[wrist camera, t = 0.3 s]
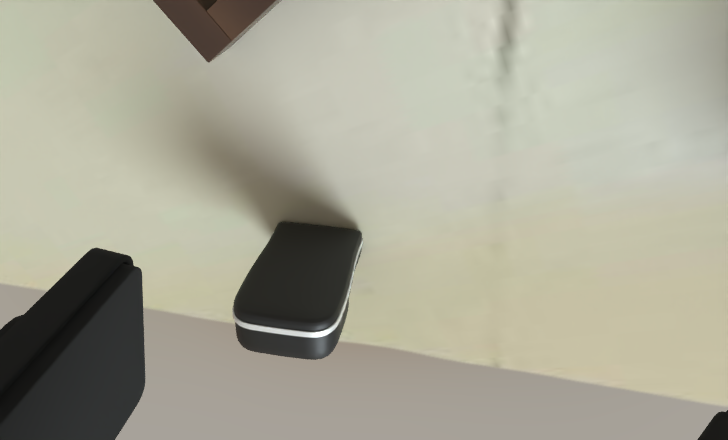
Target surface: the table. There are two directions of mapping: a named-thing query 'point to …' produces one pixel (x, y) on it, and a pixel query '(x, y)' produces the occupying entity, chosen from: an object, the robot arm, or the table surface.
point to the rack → (214, 21)
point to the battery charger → (298, 291)
